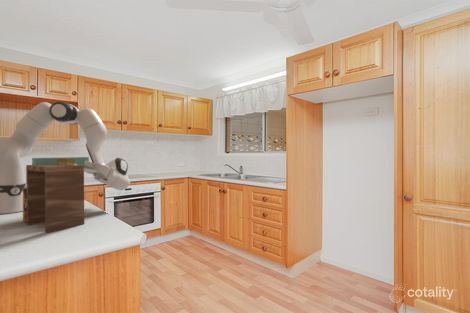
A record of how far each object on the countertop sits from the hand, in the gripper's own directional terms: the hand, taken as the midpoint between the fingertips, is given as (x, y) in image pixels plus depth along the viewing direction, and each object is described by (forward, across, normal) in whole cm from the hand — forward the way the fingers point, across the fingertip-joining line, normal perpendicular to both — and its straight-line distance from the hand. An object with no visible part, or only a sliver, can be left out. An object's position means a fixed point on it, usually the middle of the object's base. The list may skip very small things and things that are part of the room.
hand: (78, 161), depth 121 cm
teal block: (+6, 0, +5) cm, 7 cm away
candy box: (-2, -10, +31) cm, 33 cm away
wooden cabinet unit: (-3, +5, +30) cm, 30 cm away
